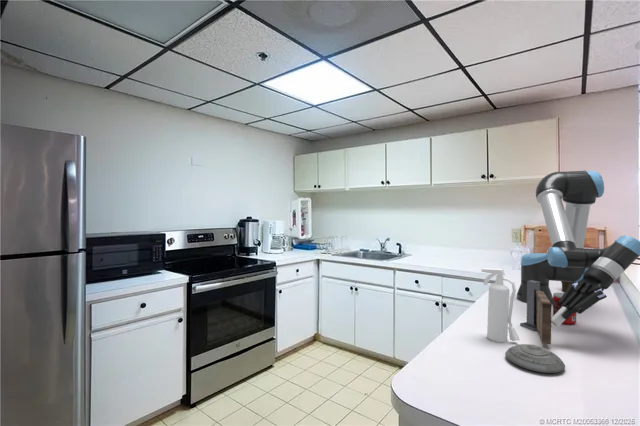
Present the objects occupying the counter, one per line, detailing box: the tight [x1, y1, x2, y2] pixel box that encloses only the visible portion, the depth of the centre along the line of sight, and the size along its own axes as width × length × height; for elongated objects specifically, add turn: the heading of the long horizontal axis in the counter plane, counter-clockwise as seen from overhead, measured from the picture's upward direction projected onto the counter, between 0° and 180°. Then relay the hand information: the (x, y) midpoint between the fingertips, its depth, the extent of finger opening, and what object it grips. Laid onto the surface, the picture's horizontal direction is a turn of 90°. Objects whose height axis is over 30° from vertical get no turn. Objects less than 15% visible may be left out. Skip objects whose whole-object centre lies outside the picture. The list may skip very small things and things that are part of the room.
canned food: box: [552, 292, 577, 326], centre depth 132 cm, size 8×8×11 cm
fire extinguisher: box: [481, 267, 521, 343], centre depth 115 cm, size 7×12×25 cm, turn 42°
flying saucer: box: [504, 343, 566, 374], centre depth 98 cm, size 15×15×6 cm
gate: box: [536, 290, 552, 346], centre depth 116 cm, size 19×2×13 cm, turn 152°
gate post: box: [519, 280, 540, 332], centre depth 126 cm, size 6×6×18 cm
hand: (553, 323), depth 110 cm, fingers closed
